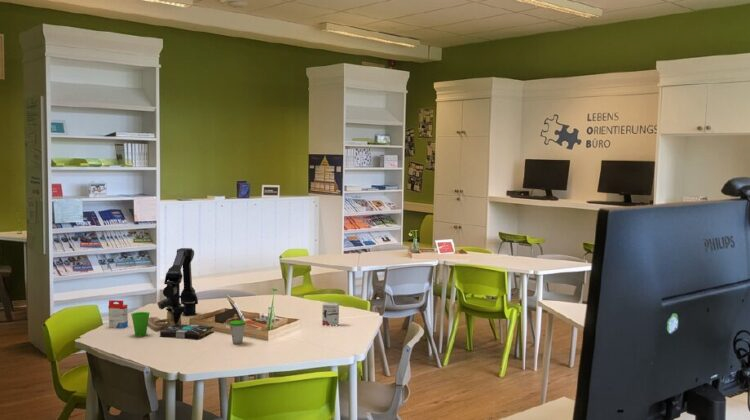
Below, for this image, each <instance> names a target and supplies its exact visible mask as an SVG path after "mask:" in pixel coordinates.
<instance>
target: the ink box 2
mask: <svg viewBox="0 0 750 420" xmlns="http://www.w3.org/2000/svg"><path fill="white" fill-rule="evenodd" d="M339 311H340V304H339V302H323V304H322V317H321V318H322V321H321V323H322V324H321V325H338V326H339V324H338V323H339V321H340V319H339V317H340V316H339V315H340V312H339Z"/></svg>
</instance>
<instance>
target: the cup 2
mask: <svg viewBox="0 0 750 420" xmlns="http://www.w3.org/2000/svg"><path fill="white" fill-rule="evenodd" d="M244 315H245V313H243V314H242V315H241V316H240V320H232V321H229V326H230V332H231V338H232V339H231V340H232V344H233V345H241V344H243V340H244V333H245V325H246V321H245V320H243V317H244Z"/></svg>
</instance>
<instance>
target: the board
mask: <svg viewBox="0 0 750 420" xmlns="http://www.w3.org/2000/svg"><path fill="white" fill-rule="evenodd" d="M154 320H162V319H161V318H159V317H157V316H152V317H151V316H149V319H148V325H147V328H150V329H151V330H152V331H154V332H160V331H161V330H166V329H168V327H169V326H170V325H169V324H167V322H162V323H157V324H156V323H154ZM170 327H171V326H170Z"/></svg>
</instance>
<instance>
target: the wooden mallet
mask: <svg viewBox="0 0 750 420" xmlns="http://www.w3.org/2000/svg"><path fill="white" fill-rule="evenodd" d="M171 312H172V311H167V310H166V318H164V319H161V320H154V323H156V324H157V323H162V322H166V323H167V324H169V325H170V326H171V327H173V326H175V325H177V324H175V322H174V316H173V314H172V313H171ZM178 324H181V325H182V315H181V316H180V318H179V320H178Z"/></svg>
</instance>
